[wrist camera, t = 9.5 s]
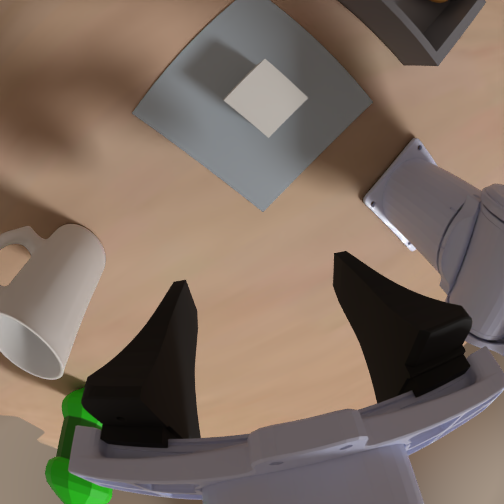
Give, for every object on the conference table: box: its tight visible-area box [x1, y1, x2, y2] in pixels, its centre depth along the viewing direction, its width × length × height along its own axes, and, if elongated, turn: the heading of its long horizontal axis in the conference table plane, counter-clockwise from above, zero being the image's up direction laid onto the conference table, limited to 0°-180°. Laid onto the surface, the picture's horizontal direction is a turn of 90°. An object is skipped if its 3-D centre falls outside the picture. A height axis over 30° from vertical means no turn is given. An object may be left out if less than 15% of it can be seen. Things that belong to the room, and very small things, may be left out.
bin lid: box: [132, 0, 373, 212], centre depth 16 cm, size 13×13×5 cm
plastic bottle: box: [45, 388, 112, 504], centre depth 26 cm, size 10×10×25 cm
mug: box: [0, 224, 106, 380], centre depth 17 cm, size 10×7×12 cm, turn 32°
